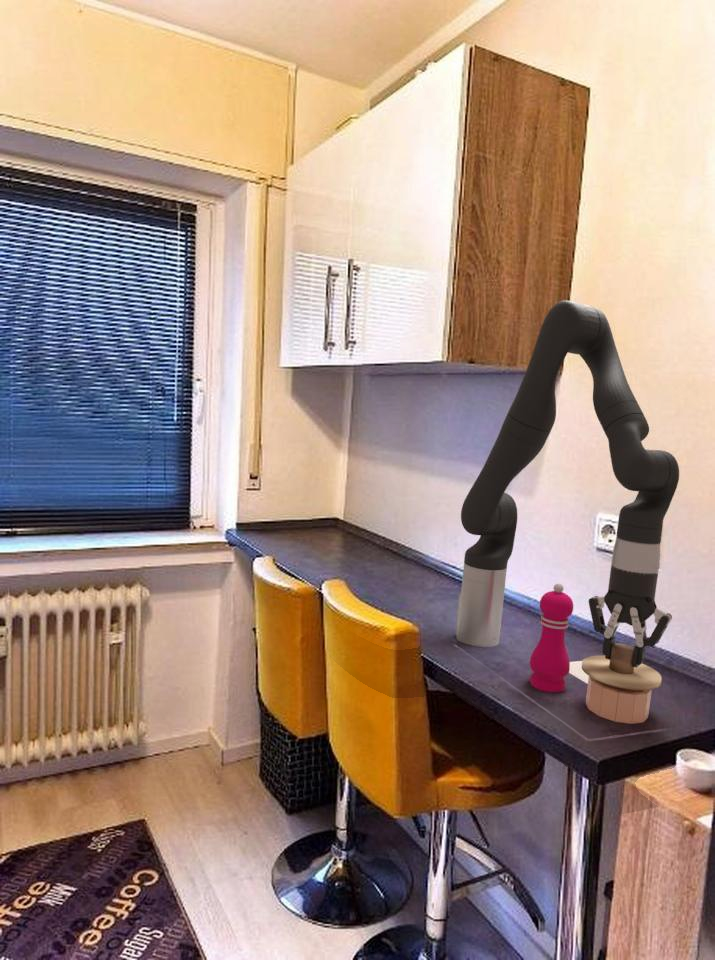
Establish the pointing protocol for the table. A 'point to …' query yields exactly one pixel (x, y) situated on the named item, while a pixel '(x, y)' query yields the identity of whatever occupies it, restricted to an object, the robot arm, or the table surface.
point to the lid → (621, 670)
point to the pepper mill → (552, 642)
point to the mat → (578, 671)
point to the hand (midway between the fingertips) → (622, 661)
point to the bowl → (617, 702)
